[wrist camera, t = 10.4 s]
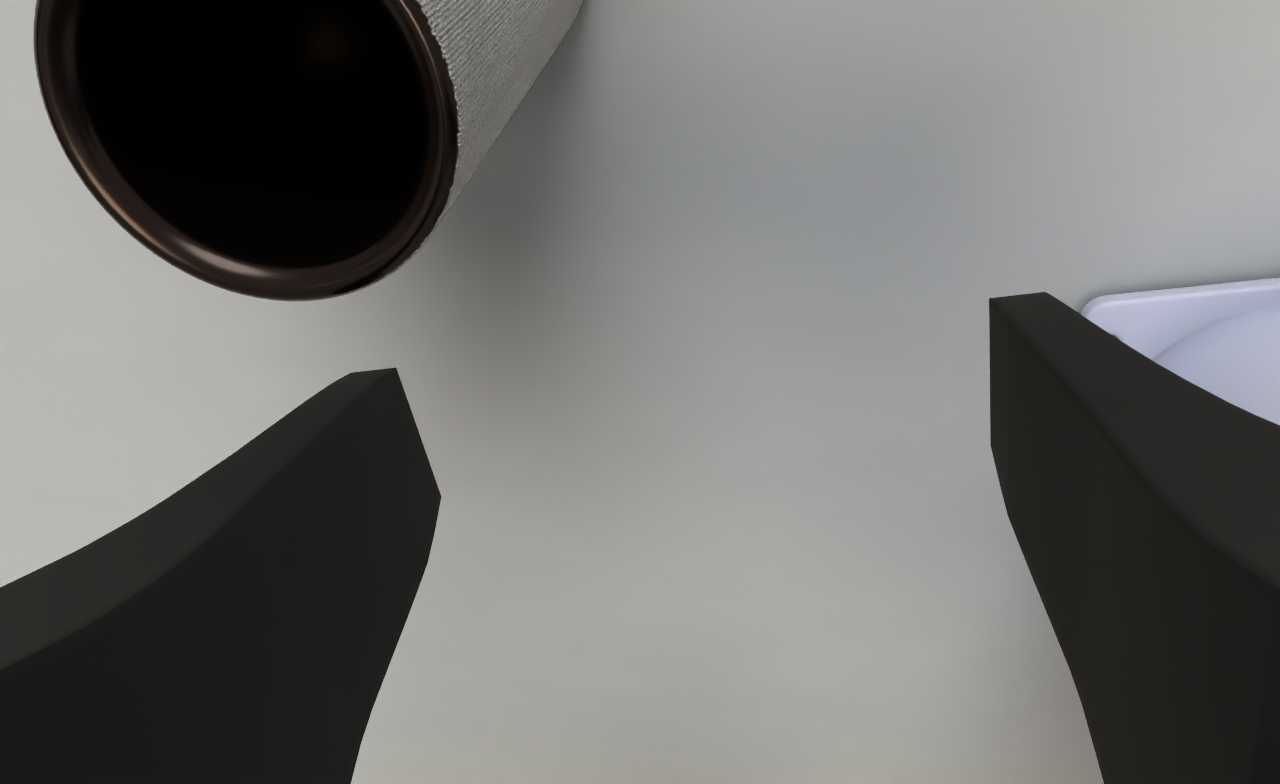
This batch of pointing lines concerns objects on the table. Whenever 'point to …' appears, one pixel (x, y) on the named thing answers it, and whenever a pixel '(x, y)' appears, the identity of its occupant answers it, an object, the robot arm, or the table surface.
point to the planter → (286, 124)
